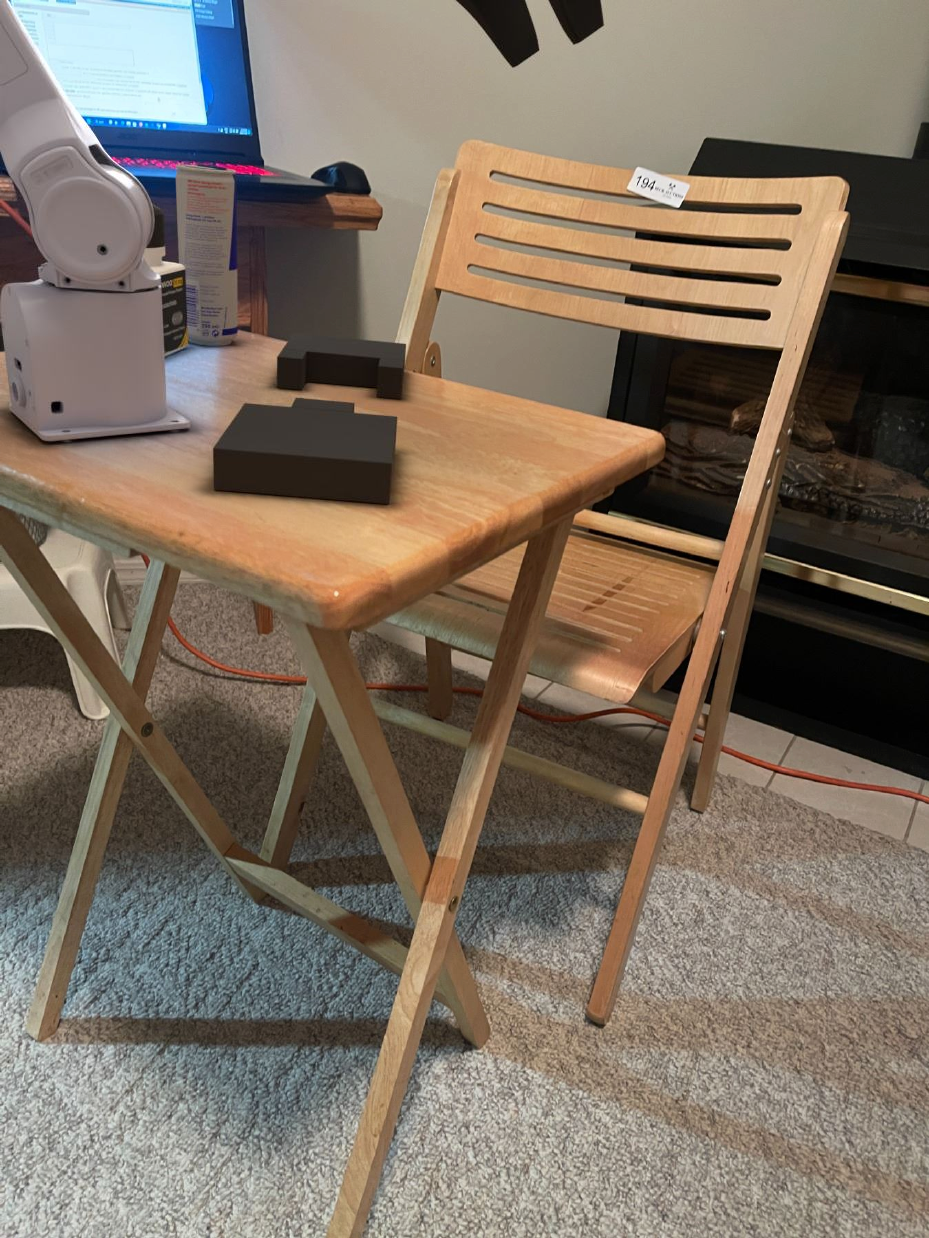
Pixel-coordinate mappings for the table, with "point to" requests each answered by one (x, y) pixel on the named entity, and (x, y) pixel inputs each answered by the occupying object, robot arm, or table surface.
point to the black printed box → (169, 288)
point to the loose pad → (307, 452)
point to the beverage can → (208, 251)
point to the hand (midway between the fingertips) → (555, 48)
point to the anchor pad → (342, 363)
